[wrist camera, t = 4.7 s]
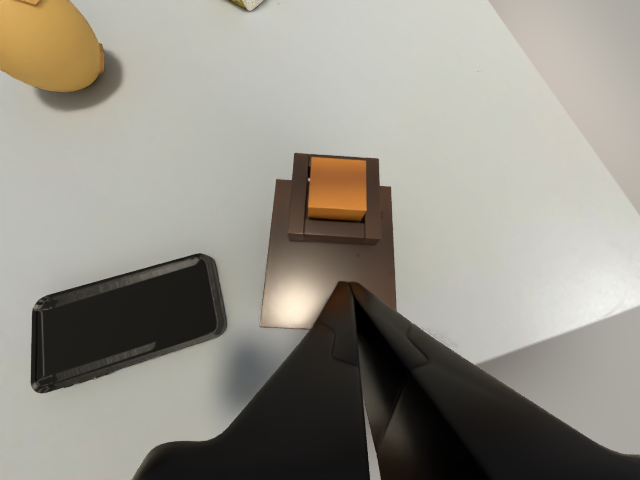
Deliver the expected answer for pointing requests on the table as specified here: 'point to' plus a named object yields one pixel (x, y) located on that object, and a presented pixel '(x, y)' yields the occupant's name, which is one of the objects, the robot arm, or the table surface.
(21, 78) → the stress ball
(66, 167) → the table surface
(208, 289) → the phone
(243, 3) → the juice carton
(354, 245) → the stepped brown pedestal
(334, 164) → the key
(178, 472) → the robot arm
